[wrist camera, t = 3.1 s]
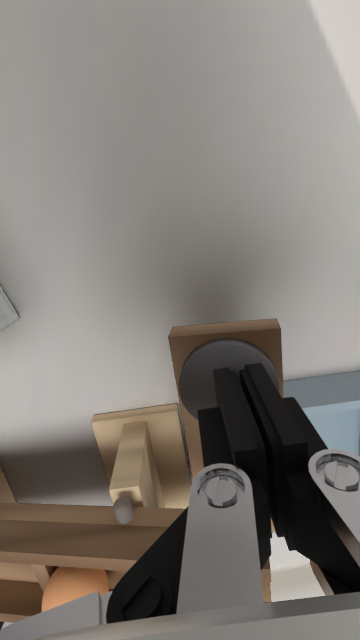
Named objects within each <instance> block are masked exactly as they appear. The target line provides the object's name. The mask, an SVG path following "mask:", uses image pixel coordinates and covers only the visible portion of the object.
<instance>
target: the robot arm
mask: <svg viewBox="0 0 360 640" xmlns="http://www.w3.org/2000/svg"><path fill="white" fill-rule="evenodd" d="M213 376H214V384H215V392H216V399H217V407H213V408H206V409H198V410H197V414H198V422H199V431H200V439H201V447H202V456H203V464H204V468H203V469H202V470H201V471H199V472H198V473H197V474H196V476H195V477H194V479H193V481H192V484H191V489H190V497H189V506H188V507H187V508H186V509H185V510H184V511H183V512H182V513H181V514H180V516H179V517H178V518H177V519H176V520H175V521H174V522H173V523H172V524H171V525H170V526H169V527H168V528H167V529H166V531H165V532H164V533H163V534H162V535H161V536H160V537H159V538H158V539H157V540H156V541H155V542H154V543H153V545H152V546H151V547H150V548H149V549H148V550H147V551H146V552H145V553H144V554H143V555H142V556H141V557H140V558H139V560H138V561H137V562H136V563H135V564H134V565H133V566H132V567H131V568H130V569H129V570H128V571H127V572H126V574H125V575H124V576H123V577H122V578H121V579H120V581H119V582H118V583H117V585H116V586H115V587H114V589H113V591H111V592H108V593H105V594H103V595H100V593H99V590H98V591H95V592H93V593H90V594H88V595H85V596H82V597H80V598H77V599H75V600H72V601H70V602H67V603H64V604H62V605H59V606H57V607H54V608H51V609H49V610H46V611H44V612H41V613H39V614H36V615H33V616H31V617H28V618H26V619H23V620H21V621H18V622H15V623H13V624H10V625H8V626H6V627H5V628H3V629H1V630H0V640H360V456H358V455H356V454H354V453H352V452H348V451H345V450H340V449H328V447H327V446H326V444H325V443H324V441H323V440H322V438H321V437H320V435H319V434H318V432H317V431H316V429H315V428H314V426H313V425H312V423H311V422H310V420H309V419H308V417H307V416H306V414H305V413H304V411H303V409H302V408H301V406H300V405H299V403H298V402H297V400H296V399H295V398H294V397H286V398H282V397H281V395H280V393H279V392H278V390H277V388H276V387H275V385H274V383H273V382H272V380H271V378H270V377H269V375H268V373H267V371H266V370H265V368H264V366H263V365H262V363H255V364H248V365H245V369H242V370H240V381H239V378H238V376H237V373H236V371H230V370H229V367H227V368H219V369H213ZM240 382H241V384H240ZM271 519H272V522H273V525H274V528H275V532H276V534H277V536H278V537H285V540H286V543H287V546H288V549H289V551H292V550H297V551H298V552H299V553H301V554H302V555H304V556H305V557H307V558H308V559H310V565H311V567H312V570H313V572H314V574H315V576H316V578H317V580H318V582H319V584H320V586H321V588H322V590H323V591H324V593H325V595H326V596H320V597H313V598H304V599H295V600H287V601H278V602H270V603H264V598H263V589H262V579H261V570H262V568H263V567H264V565H265V564H266V562H267V560H268V559H269V557H270V555H271V545H270V538H272V529H271Z"/></svg>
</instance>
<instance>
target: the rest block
mask: <svg viewBox="0 0 360 640" xmlns="http://www.w3.org/2000/svg"><path fill="white" fill-rule="evenodd" d="M0 503H16V500H15V498H14V496H13V493H12V491H11V489H10V487H9V484H8V482H7V480H6V477H5V475H4V473H3V470H2V468H1V466H0Z"/></svg>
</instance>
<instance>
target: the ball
mask: <svg viewBox="0 0 360 640" xmlns="http://www.w3.org/2000/svg"><path fill="white" fill-rule="evenodd" d="M98 590H99V593H100V595H103V594H105V593H108V592H109V582H108V578H107V574H106V572H105V570H101V569H88V568H74V567H61V566H59V567H58V568H57V569H56V570H55V572H54V573H53V574H52V576H51V577H50V579H49V581H48V583H47V585H46V587H45V590H44V594H43V598H42V612H44V611H46V610H49V609H51V608H54V607H57V606H59V605H62V604H64V603H67V602H70V601H72V600H75V599H77V598H80V597H82V596H85V595H88V594H90V593H93V592H95V591H98Z"/></svg>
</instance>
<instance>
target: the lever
mask: <svg viewBox="0 0 360 640" xmlns="http://www.w3.org/2000/svg"><path fill="white" fill-rule="evenodd" d="M168 338H169V344H170V350H171V355H172V361H173V367H174V373H175V379H176V385H177V390H178V396H179V402H180V408H181V414H182V419H183V425H184V431H185V437H186V443H187V448H188V454H189V460H190V466H191V472H192V477H193V479H194V477H195V476H196V474H197V473H198V472H199V471H201V470H202V469H203V468H204V464H203V456H202V447H201V439H200V431H199V422H198V414H197V410H198V409H206V408H213V407H217V399H216V392H215V384H214V376H213V369H219V368H227V367H229V370H230V371H236V373H237V376H238V378H239V381H240V370H242V369H245V365H248V364H255V363H262V365H263V366H264V368H265V370H266V371H267V373H268V375H269V377H270V378H271V380H272V382H273V383H274V385H275V387H276V388H277V390H278V392H279V393H280V395H281V397H282V398H283V374H282V349H281V328H280V325H279V323H278V320H277V318H275V319H263V320H250V321H238V322H226V323H214V324H201V325H189V326H177V327H173V328H172V330H171V332H170V334H169V337H168ZM240 384H241V382H240ZM184 510H185V509H179V508H148V507H132V503H131V500H130V498H128V497H120V498H118V499H117V500H116V501H115V503H114V505H113V506H87V505H56V504H25V503H0V621H2V622H10V623H15V622H18V621H21V620H23V619H26V618H28V617H31V616H33V615H36V614H39V613H41V612H42V598H43V594H44V590H45V587H46V585H47V583H48V581H49V579H50V577H51V576H52V574H53V573H54V572H55V570H56V569H57V568H58V567H59V566H61V567H74V568H88V569H101V570H105V572H106V574H107V578H108V582H109V592H111V591H113V589H114V587H115V586H116V585H117V583H118V582H119V581H120V579H121V578H122V577H123V576H124V575H125V574H126V572H127V571H128V570H129V569H130V568H131V567H132V566H133V565H134V564H135V563H136V562H137V561H138V560H139V558H140V557H141V556H142V555H143V554H144V553H145V552H146V551H147V550H148V549H149V548H150V547H151V546H152V545H153V543H154V542H155V541H156V540H157V539H158V538H159V537H160V536H161V535H162V534H163V533H164V532H165V531H166V529H167V528H168V527H169V526H170V525H171V524H172V523H173V522H174V521H175V520H176V519H177V518H178V517H179V516H180V514H181V513H182V512H183V511H184ZM271 529H272V532H275V528H274V525H273V522H272V519H271ZM261 579H262V589H263V598H264V603H270V602H271V590H270V582H271V574H270V563H269V559H268V560H267V562H266V564H265V565H264V567H263V568H262V570H261Z"/></svg>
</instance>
